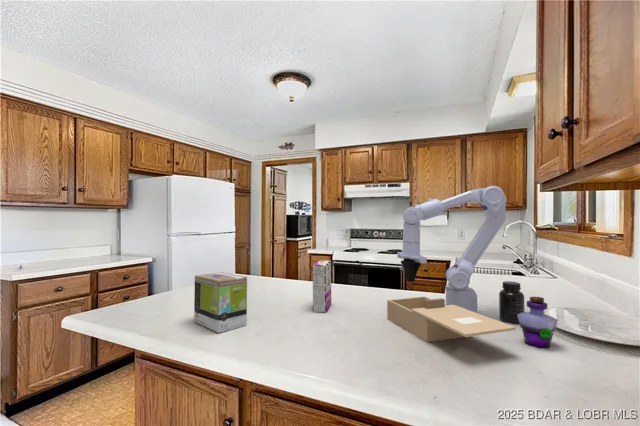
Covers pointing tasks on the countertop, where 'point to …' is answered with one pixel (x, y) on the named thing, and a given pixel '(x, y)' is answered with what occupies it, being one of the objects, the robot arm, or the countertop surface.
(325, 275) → the candy bar box
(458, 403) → the countertop surface
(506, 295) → the supplement bottle
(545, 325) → the potion bottle
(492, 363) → the countertop surface
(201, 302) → the tea box
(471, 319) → the mailer lid
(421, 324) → the mailer box
